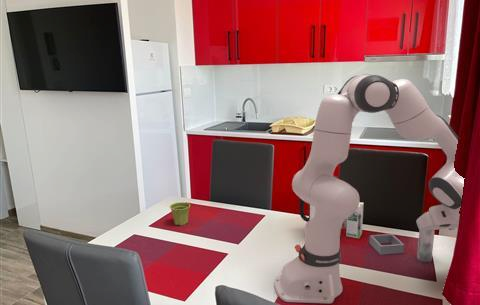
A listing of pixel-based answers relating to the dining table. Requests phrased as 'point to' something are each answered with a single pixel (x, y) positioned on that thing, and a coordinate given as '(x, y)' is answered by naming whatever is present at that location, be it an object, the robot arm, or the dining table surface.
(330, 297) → the robot arm
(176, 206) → the plant pot
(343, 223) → the small box
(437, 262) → the dining table surface
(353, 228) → the syrup box
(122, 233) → the dining table surface
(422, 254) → the tube
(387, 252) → the socket
